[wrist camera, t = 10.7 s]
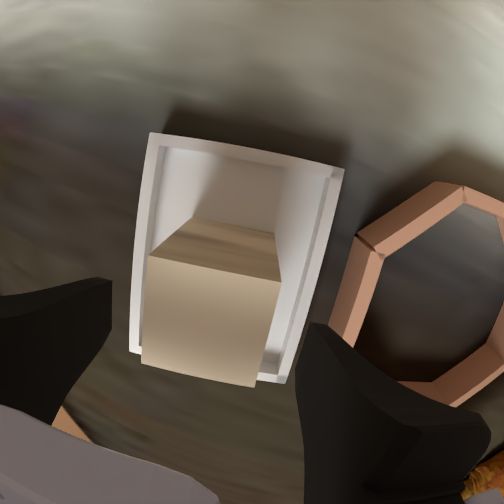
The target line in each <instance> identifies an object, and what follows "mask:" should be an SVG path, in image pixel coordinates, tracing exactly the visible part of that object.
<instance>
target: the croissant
mask: <svg viewBox="0 0 504 504" xmlns="http://www.w3.org/2000/svg"><path fill="white" fill-rule="evenodd" d="M463 482H464V484H465V486H466V487H465V490H464V491H463V492H461V495H462V498H463V500H465V499H467V498H469V497H470V496H472V495H475V494H478V493H481V492H484V491H487V490H490V489H493V488H498V489H499V490H500V492H501V494H502V496H503V498H504V450H503V451H501V452H500V453H498V454H497V455H495V456H493V457H492V458H491V459H489V460H488V461H486V462H484V463H481V464H479V465H477V466H476V467H475V469H474V470H473V471H472V470H471V471H470V473H469V478H467V479H465V480H464V481H463Z"/></svg>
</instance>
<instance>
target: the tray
mask: <svg viewBox="0 0 504 504" xmlns="http://www.w3.org/2000/svg"><path fill="white" fill-rule="evenodd" d="M344 170H345V169H342V168H338V167H334V166H330V165H326V164H322V163H318V162H314V161H310V160H305V159H301V158H297V157H292V156H288V155H283V154H278V153H274V152H269V151H264V150H259V149H254V148H249V147H243V146H238V145H232V144H227V143H221V142H215V141H209V140H202V139H196V138H189V137H182V136H175V135H167V134H159V133H151V132H150V135H149V140H148V146H147V152H146V158H145V164H144V170H143V177H142V184H141V191H140V199H139V207H138V215H137V224H136V233H135V244H134V255H133V268H132V283H131V302H130V333H129V351H130V352H133V353H137V354H141V355H142V328H143V309H144V294H145V281H146V269H147V258H148V255H149V254H150V253H151V252H152V251H153V250H154V249H155V248H157V247H158V246H159V245H160V244H161V243H162V242H163V241H165V240H166V239H167V238H168V237H169V236H170V235H171V234H173V233H174V232H175V231H176V230H177V229H178V228H180V227H181V226H182V225H183V224H184V223H185V222H187V221H188V220H189V219H190V218H191V217H194V218H200V219H205V220H210V221H215V222H220V223H225V224H231V225H236V226H241V227H246V228H251V229H256V230H261V231H266V232H270V233H274V235H275V242H276V248H277V254H278V261H279V267H280V274H281V281H282V284H281V288H280V292H279V296H278V300H277V304H276V308H275V312H274V316H273V319H272V323H271V327H270V331H269V335H268V339H267V342H266V346H265V350H264V354H263V357H262V361H261V365H260V369H259V372H258V376H257V379H256V380H262V381H269V382H275V383H282V384H285V383H286V380H287V377H288V374H289V371H290V368H291V365H292V362H293V358H294V355H295V352H296V349H297V346H298V343H299V340H300V336H301V333H302V330H303V327H304V323H305V320H306V317H307V313H308V310H309V307H310V303H311V300H312V296H313V293H314V289H315V286H316V282H317V279H318V275H319V271H320V268H321V264H322V260H323V257H324V253H325V249H326V245H327V241H328V238H329V234H330V230H331V226H332V222H333V218H334V214H335V209H336V205H337V201H338V197H339V192H340V188H341V184H342V179H343V175H344Z"/></svg>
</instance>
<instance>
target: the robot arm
mask: <svg viewBox="0 0 504 504" xmlns="http://www.w3.org/2000/svg"><path fill="white" fill-rule="evenodd" d="M111 329H112V281H110V280H107V279H103V278H99V277H96V278H89V279H84V280H80V281H76V282H72V283H68V284H64V285H60V286H56V287H52V288H48V289H43V290H39V291H34V292H29V293H23V294H16V295H7V296H0V504H220V502H219V499H218V496H217V495H215V494H214V493H213V492H212V491H210V490H209V489H207V488H206V487H204V486H203V485H202V484H200V483H199V482H197V481H196V480H195V479H193V478H192V477H190V476H188V475H185V474H182V473H179V472H177V471H174V470H171V469H169V468H166V467H164V466H161V465H159V464H155V463H152V462H148V461H145V460H141V459H138V458H134V457H131V456H128V455H125V454H122V453H119V452H116V451H113V450H110V449H107V448H104V447H101V446H99V445H96V444H93V443H91V442H88V441H85V440H83V439H80V438H78V437H75V436H73V435H71V434H68V433H66V432H64V431H61V430H59V429H57V428H55V427H52V426H51V425H52V423H53V421H54V419H55V417H56V415H57V413H58V411H59V409H60V407H61V405H62V403H63V401H64V399H65V398H66V396H67V394H68V393H69V391H70V390H71V388H72V386H73V385H74V384H75V382H76V381H77V380H78V378H79V377H80V376H81V374H82V373H83V372H84V371H85V369H86V368H87V367H88V365H89V364H90V363H91V361H92V360H93V359H94V357H95V356H96V355H97V353H98V352H99V351H100V349H101V348H102V346H103V344H104V342H105V341H106V339H107V337H108V335H109V333H110V331H111ZM295 391H296V398H297V404H298V411H299V417H300V423H301V429H302V435H303V443H304V465H305V481H304V504H504V498H503V496H502V494H501V492H500V490H499V489H498V488H493V489H490V490H487V491H484V492H481V493H478V494H475V495H472V496H470V497H469V498H467V499H465V500H463V498H462V495H461V492H463V491H464V490H465V487H466V486H465V484H464V482H463V480H462V479H463V478H464V477H465V476H466V474H467V473H468V472H469V471H470V470H471V469H472V468H473V467H474V465H475V464H476V463H477V462H478V461H479V459H480V458H481V457H482V456H483V454H484V453H485V451H486V450H487V448H488V445H489V443H490V440H491V431H490V429H489V427H488V426H487V424H486V423H485V421H484V420H483V418H482V417H481V415H480V414H478V413H475V412H471V411H467V410H463V409H460V408H456V407H452V406H449V405H446V404H444V403H441V402H438V401H436V400H433V399H431V398H428V397H426V396H424V395H422V394H420V393H418V392H416V391H414V390H412V389H410V388H408V387H406V386H404V385H402V384H401V383H399V382H397V381H396V380H394V379H393V378H391V377H389V376H388V375H386V374H385V373H383V372H382V371H381V370H379V369H378V368H376V367H375V366H374V365H373V364H371V363H370V362H369V361H368V360H366V359H365V358H364V357H363V356H362V355H360V354H359V353H358V352H357V351H356V350H355V349H354V348H353V347H351V346H350V345H349V344H348V343H347V342H346V341H345V340H344V339H343V338H342V337H341V336H339V335H338V334H337V333H336V332H335V331H334V330H333V329H332V328H330V327H329V326H327V325H324V324H318V323H311V322H310V325H309V328H308V331H307V334H306V337H305V341H304V344H303V347H302V350H301V353H300V356H299V359H298V362H297V365H296V368H295Z"/></svg>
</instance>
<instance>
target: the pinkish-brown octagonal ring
mask: <svg viewBox="0 0 504 504" xmlns="http://www.w3.org/2000/svg"><path fill="white" fill-rule="evenodd" d="M461 204H464V205H467V206H470V207H472V208H475V209H478V210H480V211H483V212H485V213H488V214H490V215H493V216H495V217H496V218H497V221H498V224H499V228H500V231H501V235H502V238H503V242H504V203H503V202H501V201H499V200H496V199H494V198H492V197H490V196H487V195H485V194H483V193H480V192H478V191H476V190H473V189H471V188H468V187H466V186H462V185H457V184H452V183H447V182H441V181H437V182H436V181H434V182H433V183H431V184H430V185H428V186H427V187H425V188H424V189H422V190H421V191H419V192H418V193H416V194H415V195H413V196H412V197H410V198H409V199H407V200H406V201H404V202H403V203H401V204H400V205H398V206H397V207H395V208H394V209H392V210H391V211H389V212H388V213H386V214H385V215H383V216H382V217H380V218H379V219H377V220H376V221H374V222H373V223H371V224H369V225H368V226H366V227H365V228H363V229H362V230H360V231H359V232H357V234H358V236H359V237H356V236H354V239H353V243H352V246H351V250H350V254H349V257H348V261H347V264H346V268H345V271H344V274H343V278H342V281H341V284H340V288H339V291H338V294H337V297H336V301H335V304H334V307H333V310H332V313H331V316H330V319H329V322H328V325H327V326H329V327H330V328H332V329H333V330H334V331H335V332H336V333H337V334H338V335H339V336H341V337H342V338H343V339H344V340H345V341H346V342H347V343H348V344H349V345H350V346H351V347H354V344H355V342H356V339H357V337H358V334H359V331H360V329H361V326H362V323H363V321H364V318H365V315H366V312H367V309H368V307H369V304H370V301H371V298H372V295H373V292H374V289H375V286H376V283H377V280H378V277H379V274H380V270H381V267H382V264H383V261H384V258H385V257H387V256H388V255H390V254H391V253H393V252H394V251H396V250H397V249H399V248H400V247H402V246H403V245H405V244H406V243H408V242H409V241H411V240H412V239H414V238H415V237H416V236H418V235H419V234H421V233H422V232H424V231H425V230H427V229H428V228H429V227H431V226H432V225H434V224H435V223H436V222H438V221H439V220H441V219H442V218H443V217H445V216H446V215H448V214H449V213H450V212H452V211H453V210H454V209H456V208H457V207H459V206H460V205H461ZM502 372H504V302H503V305H502V307H501V310H500V312H499V315H498V317H497V319H496V322H495V324H494V326H493V329H492V331H491V333H490V335H489V337H488V339H487V342H486V343H485V344H484V345H483V346H481V347H480V348H479V349H478V350H476V351H475V352H474V353H472V354H471V355H470V356H468V357H467V358H466V359H464V360H463V361H462V362H460V363H459V364H458V365H456V366H455V367H453V368H452V369H450V370H449V371H448V372H446V373H445V374H443V375H442V376H440V377H439V378H437V379H436V380H434V381H433V382H409V381H397V382H399V383H401V384H402V385H404V386H406V387H408V388H410V389H412V390H414V391H416V392H418V393H420V394H422V395H424V396H426V397H428V398H431V399H433V400H436V401H438V402H441V403H444V404H446V405H449V406H452V407H457V406H459V405H460V404H462V403H463V402H464V401H466V400H467V399H469V398H470V397H471V396H473V395H474V394H476V393H477V392H478V391H480V390H481V389H482V388H484V387H485V386H486V385H487V384H489V383H490V382H491V381H493V380H494V379H495V378H496V377H498V376H499V375H500V374H501V373H502Z"/></svg>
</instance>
